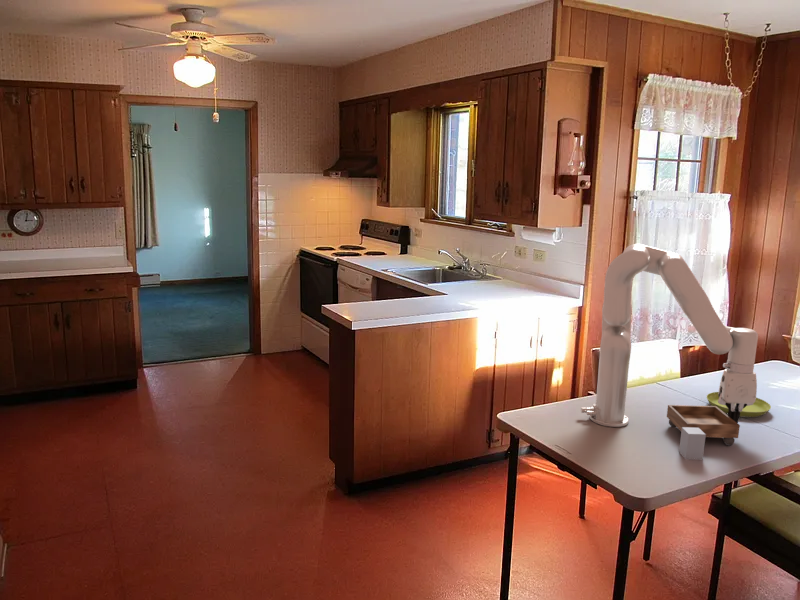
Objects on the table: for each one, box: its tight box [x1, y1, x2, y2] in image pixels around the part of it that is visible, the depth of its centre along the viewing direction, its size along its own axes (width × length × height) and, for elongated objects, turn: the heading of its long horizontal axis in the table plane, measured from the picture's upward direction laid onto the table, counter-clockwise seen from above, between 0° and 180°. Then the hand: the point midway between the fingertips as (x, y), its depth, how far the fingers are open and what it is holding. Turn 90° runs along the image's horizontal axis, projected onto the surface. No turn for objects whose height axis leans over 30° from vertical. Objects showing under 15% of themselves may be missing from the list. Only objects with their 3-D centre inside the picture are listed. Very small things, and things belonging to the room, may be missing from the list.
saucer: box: [706, 391, 772, 418], centre depth 233 cm, size 21×21×3 cm
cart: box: [666, 404, 741, 446], centre depth 208 cm, size 16×16×7 cm
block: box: [678, 427, 707, 461], centre depth 194 cm, size 5×5×8 cm
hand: (732, 421), depth 208 cm, fingers closed
